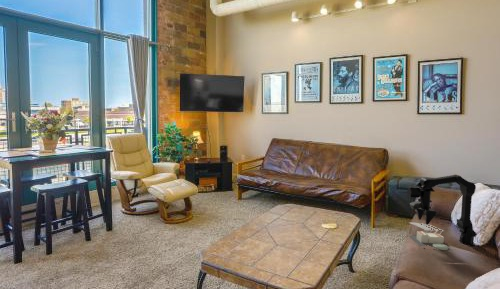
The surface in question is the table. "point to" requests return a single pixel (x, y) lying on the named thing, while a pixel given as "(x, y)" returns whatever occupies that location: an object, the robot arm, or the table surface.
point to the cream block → (422, 237)
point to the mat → (423, 243)
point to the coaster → (440, 246)
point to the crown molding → (426, 227)
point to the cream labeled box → (435, 238)
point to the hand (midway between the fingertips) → (423, 222)
